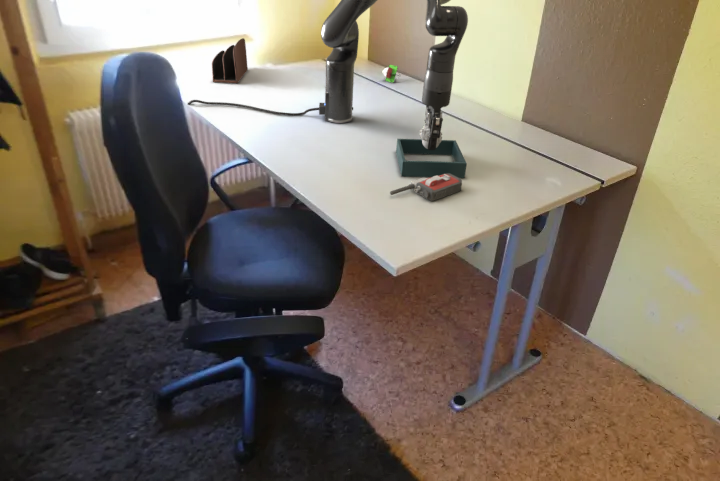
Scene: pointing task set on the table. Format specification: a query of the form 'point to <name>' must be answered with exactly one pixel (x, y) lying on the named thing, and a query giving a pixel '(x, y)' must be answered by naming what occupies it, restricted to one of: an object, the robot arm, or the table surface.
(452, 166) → the open box
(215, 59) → the letter holder
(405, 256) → the table surface
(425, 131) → the white rounded figurine
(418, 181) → the walkie-talkie
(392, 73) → the geometric puzzle
